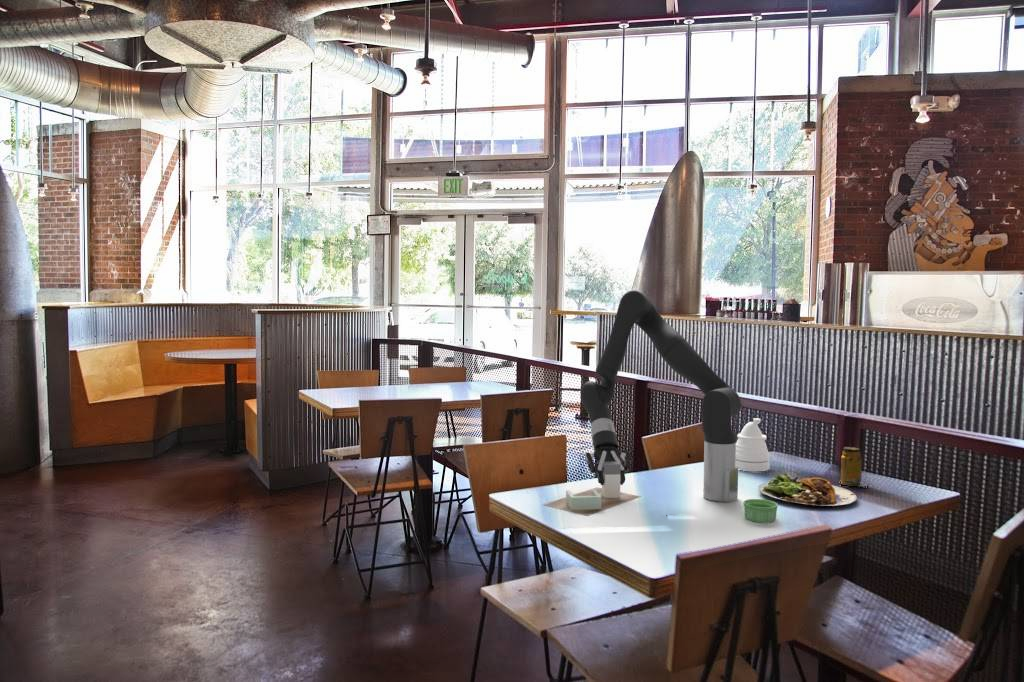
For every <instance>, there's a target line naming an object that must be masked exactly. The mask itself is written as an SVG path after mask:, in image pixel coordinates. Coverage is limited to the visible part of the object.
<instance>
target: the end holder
mask: <svg viewBox="0 0 1024 682" xmlns="http://www.w3.org/2000/svg"><path fill="white" fill-rule="evenodd" d="M573 495H574V494H573V493H572V491H571V490H570V489H568V490H567V489H566V491H565V497H566V503H567V504H568V506H569V507H570V509H571V510H591V509H601V496H600V495H599V494H598V492H597V491H596V490H592V496H577V497H574V496H573Z"/></svg>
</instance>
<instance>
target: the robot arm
mask: <svg viewBox="0 0 1024 682" xmlns="http://www.w3.org/2000/svg"><path fill="white" fill-rule="evenodd" d="M621 296H622V297H621V298H620V301H619V302H618V307H617V311H616V314H615V319H614V322H613V325H612V328H611V332H610V335H609V337H608V340H607V342H606V345H605V348H604V350H603V352H602V355H601V357H600V359H599V361H598V363H597V365H596V368H595V373H596V374H597V375H598V376H599V377H600V378H601V383H598V382H596V381H592V380H590V381H589V380H588V381H586V382H585V383H584V384H583V385H582V386H581V388H580V399H581V402H582V404H583V407H584V409H585V411H586V413H587V414H588V417H589V418H588V419H589V423H590V434H591V436H590V437H591V441H592V447H593V452H592V453H590V452H586V453H585V457H584V459H585V462H586V465H587V467H588V470H589V472H590V473H591V474H596V476H597V483H598V484H600V486H602V485H604V477H603V471H602V466H603V462H604V461H616V462H618V463H620V464H621V469H620V486H622V485H624V484H625V482H626V475H625V474H627V473H628V472H629V469H630V466H631V465H630V463H631V452H629V451H627V452H621V450H620V449H619V444H618V439H617V434H616V428H615V425H614V423H613V417H612V412H611V410H610V408H609V407H608V406H609V405H610V404H611V402H612V400H613V398H614V393H615V385H616V381H617V376H618V373H619V372H620V369H621V367H622V365H623V362H624V359H625V357H626V352H627V347H628V341H629V337H630V335H631V331H632V328H633V327H634V325H636V326H637V327H639V328H640V329H641V330H642V332H644V333H645V334H646V335H647V336H648V338H650V340H651V342H652V344H653V346H654V347H655V349H656V351H657V353H658V354H659V356H661V358H662V360H663V361H664V362H665V364H667V365H668V366H669V367H670V368H671V370H672V371H674V372H675V373H677V375H679V376H680V377H682V378H684V379H685V380H686V381H688V382H690V383H691V384H693V385H694V386H695V387H697V389H699V391H701V392H702V394H704V396H703V398H702V402H701V428H702V433H703V436H704V441H703V443H704V444H703V445H704V446H703V447H704V448H703V449H704V450H703V451H704V453H703V489H702V491H703V498H704V499H706V500H710V501H715V502H726V503H730V502H733V501H735V500H736V499H738V496H739V491H738V490H739V471H738V467H736V443H737V434H736V432H735V431H733V429H732V418H733V417H734V416H735V417H736V416H737V415H738V414H740V411H741V408H742V400H741V398H740V395H739V393H737V391H735V389H734V388H732V386H730V385H729V384H728V383H726V381H725V380H724V379H722V378H721V377H720V375H718V374H717V373H716V372H715V371H714V370H713V369H712V368H711V367H710V366H709V364H708V363H707V362H706V361H705V360H704V358H702V356H701V355H699V353H698V352H697V351H696V349H694V347H693V346H692V345H691V344H690V342H689V341H687V340H686V338H684V336H683V335H681V334H680V333H679V332H678V331H677V330H676V329H675V328H674V327H673V326H671V325H670V324H669V323H668V322H667V321H666V320H665V319H664V318H663V316H662V315H661V314H660V312H658V310H657V309H656V307H655V305H654V304H653V302H652V301H651V300H650V298H649V297H647V296H646V295H645V294H644V293H642V292H641V291H639V290H635V289H634V290H628V291H626V292H625V293H624V294H623V295H621ZM620 457H621V460H623V461H624V466H623V465H622V462H621V460H620ZM594 459H595V460H596V461H597V462H598V466H596V465H595V463H594Z"/></svg>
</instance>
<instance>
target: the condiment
mask: <svg viewBox="0 0 1024 682" xmlns="http://www.w3.org/2000/svg"><path fill="white" fill-rule="evenodd" d="M861 455H862V454H861V448H859V447H852V446H844V447H843V448H842V455H841V460H840V461H841V463H840V464H841V465H840V481H841V484H844V485H849V486H850V485H851V486H858V485H860V483H862V459H863V458H862V456H861ZM849 486H848V487H849ZM863 488H864V489H868V488H867V487H866V488H865V487H863Z"/></svg>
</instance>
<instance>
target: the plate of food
mask: <svg viewBox="0 0 1024 682" xmlns="http://www.w3.org/2000/svg"><path fill="white" fill-rule="evenodd" d="M757 487H758V488H757V489H758V491H760V492H761V493H762V494H763V495H766V496H769V497H771V498H774V499H777V500H782V501H784V502H788V503H795V504H802V505H803V504H804V505H811V506H823V507H824V506H829V507H830V506H832V507H835V506H843V505H849V504H852V503H854V502H856V500H857V495H856V494H855V493H854V492H852V491H851V490H848V489H846V488H844V487H842V486H839V485H838V486H837V485H833V484H831V482H830V481H829V480H828V479H825V478H821V477H811V478H810V477H809V478H802V479H800V480H799V478H798V476H795V477H793V478H791V477H790V476H789V475H788V474H787V473H786V472H784V474H778V475H776V476H774V477H772V478H771V479H770V481H766V482H763V483H761V484H759V485H758V486H757ZM777 497H779V498H777ZM780 497H782V498H780ZM836 497H837V498H839V500H840V502H838V501H837V498H836Z"/></svg>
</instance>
